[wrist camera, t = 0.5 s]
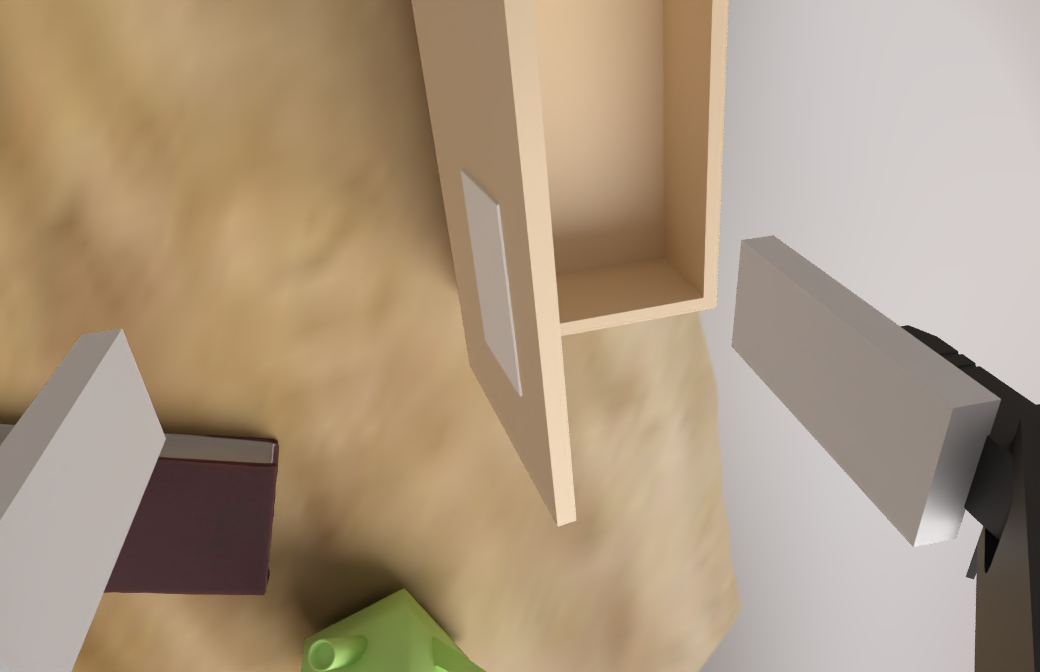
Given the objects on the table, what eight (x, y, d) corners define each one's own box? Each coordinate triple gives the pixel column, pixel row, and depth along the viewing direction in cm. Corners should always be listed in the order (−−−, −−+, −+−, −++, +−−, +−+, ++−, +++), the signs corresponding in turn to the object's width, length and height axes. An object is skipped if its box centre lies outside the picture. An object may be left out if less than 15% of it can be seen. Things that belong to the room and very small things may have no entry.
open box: (403, -100, 35) (410, -111, 29) (675, -130, 37) (736, -145, 30) (465, 298, 46) (479, 350, 40) (673, 262, 47) (717, 307, 41)
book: (270, 569, 54) (264, 603, 51) (-24, 563, 49) (-48, 600, 46) (282, 435, 49) (277, 464, 46) (-46, 411, 44) (-74, 443, 41)
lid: (411, -124, 28) (389, -121, 28) (517, -183, 17) (481, -180, 17) (483, 361, 39) (468, 366, 39) (576, 520, 28) (555, 527, 28)
